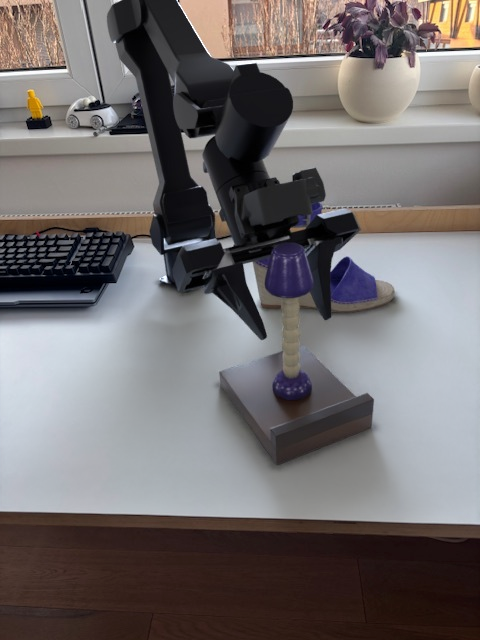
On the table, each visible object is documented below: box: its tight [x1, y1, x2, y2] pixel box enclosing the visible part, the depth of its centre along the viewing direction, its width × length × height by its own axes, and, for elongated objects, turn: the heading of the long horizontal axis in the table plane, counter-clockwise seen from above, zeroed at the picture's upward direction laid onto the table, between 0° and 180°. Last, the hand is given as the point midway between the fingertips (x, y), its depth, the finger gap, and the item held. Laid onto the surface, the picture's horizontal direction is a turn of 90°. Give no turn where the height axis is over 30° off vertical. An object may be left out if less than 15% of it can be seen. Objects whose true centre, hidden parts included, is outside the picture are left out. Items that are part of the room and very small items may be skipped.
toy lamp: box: [265, 243, 314, 400], centre depth 54 cm, size 5×5×17 cm
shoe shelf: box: [218, 344, 375, 466], centre depth 58 cm, size 14×11×4 cm
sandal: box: [252, 202, 395, 313], centre depth 74 cm, size 8×20×15 cm, turn 84°
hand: (296, 328), depth 53 cm, fingers open, 7 cm apart
